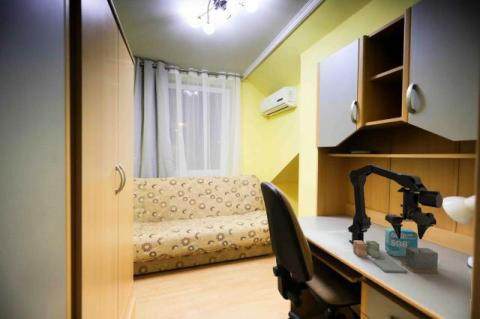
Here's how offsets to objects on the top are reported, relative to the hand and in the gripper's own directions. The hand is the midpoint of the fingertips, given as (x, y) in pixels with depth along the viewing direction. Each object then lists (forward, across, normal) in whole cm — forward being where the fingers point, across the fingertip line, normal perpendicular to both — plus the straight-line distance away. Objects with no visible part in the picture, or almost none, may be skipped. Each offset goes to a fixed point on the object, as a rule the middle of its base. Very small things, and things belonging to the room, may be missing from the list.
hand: (409, 238), depth 99 cm
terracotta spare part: (+11, -18, +7) cm, 22 cm away
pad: (+11, -12, -5) cm, 17 cm away
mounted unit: (+10, 0, -6) cm, 12 cm away
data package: (+11, +2, +8) cm, 14 cm away
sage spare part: (+11, -12, +7) cm, 18 cm away
